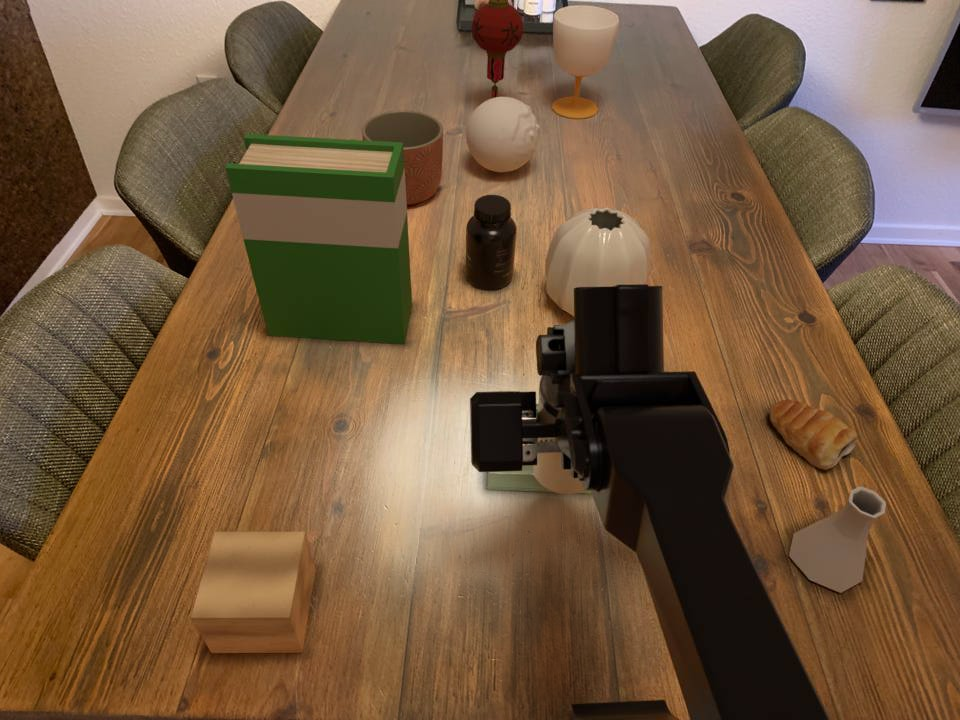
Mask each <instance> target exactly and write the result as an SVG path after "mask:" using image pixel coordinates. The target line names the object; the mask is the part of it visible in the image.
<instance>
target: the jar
mask: <svg viewBox="0 0 960 720" xmlns="http://www.w3.org/2000/svg"><path fill="white" fill-rule="evenodd" d="M538 385H539V386H538V403H537V404H538V411H537V424H547V423H555V421H556V418H557V415H558V413H559V411H560V408H555V407H554V390H558V384H551V380H550V377H549V376H541V378H540V381H539V384H538ZM545 439H547V441H548V443H549V442H550V439H552V441H553V443H554V441H555V437H553V438H538V443H539V442H540V440H542V441H543V443H544V442H545ZM531 469H532V472H533V474H534V476H535V478H536V479H537V481H538V482H539V483H540V484H541V485H542V486H544V487H545V488H547V489H549V490H551V491H553V492H552V493H556V494H560V495H576V494H581V493H580V492H583V491H585V490H584V488H583V486H582V483H581V481H579V480H578V478H573V477H572V476H571V469H562V468H561V452H551V453H538V454H537V465H531Z"/></svg>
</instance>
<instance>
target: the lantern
mask: <svg viewBox="0 0 960 720" xmlns="http://www.w3.org/2000/svg"><path fill="white" fill-rule="evenodd" d="M470 31H471V35H472V38H473V40H474V42H475V43H476V44H477V46H478V48H480V49H481V50H483V51H485V53H486V55H487V59H486V60H487V63H486V64H487V65H486V78H487V79H488V80H490V81H491V83H493V85H492V87H491V93H490V96H491V98H490V99H492V98H495V97H499V95H498V94H499V87H498V86H497V83H499V82H500V81H502V80H503V79H504V78H505V62H506V61H505V60H506V54H507V52H510V51H512V50H513V49H515V48H516V47H517V45H518V44H519V43H520V42H521V41H522V37H523V34H524V21H523V17H522V15H521V14H520V12H519V11H518V9H517V8H516V7H515V6H513V5H511V4H510V2H509V0H488V1H487V3H486V4H484V5H482V6H480V7H479V8H478V9H477V11H476V12H475V13H474V15H473V18H472V23H471V29H470Z"/></svg>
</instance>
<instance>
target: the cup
mask: <svg viewBox="0 0 960 720" xmlns="http://www.w3.org/2000/svg"><path fill="white" fill-rule="evenodd" d="M552 20H553V21H552V45H553V54H554V59H555V61H556V63H557V65H558V66H559V68H560V69H561V70H562V71H563V72H564V73H567V74H568V75H571V76H572V77H574V80H575V82H574V91H573V96H565V97H560V98H557V99H555V100H554V101H553V102H552V103H551V109H552V111H553V112H554V113H555V114H556V115H559V116H561V117H563V118H568V119H571V120H572V119H573V120H582V119H588V118H589V119H590V118H591V117H594V116H596V114H597V113H598V112H599V108H598V105H597V104H596V103H595V102H594V101H592V100H590V99H588V98H584V97H580V91H581V90H580V89H581V84H582V79H583V78H585V77H589V76H593V75H596V74H597V73H599V72H600V71H601V70H602V69H603V67H604V66H605V65H606V64H607V62H608V61H609V60H610V57H611V55H612V52H613V49H614V45H615V42H616V38H617V34H618V30H619V25H620V19H619V16H618V15H617V14H616V13H615V12H613V11H611V10H609V9H606V8H603V7H599V6H594V5H580V4H576V5H567V6H565V7H561V8H558V9H557V10H556V11H555V12H554V13H553V19H552Z"/></svg>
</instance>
